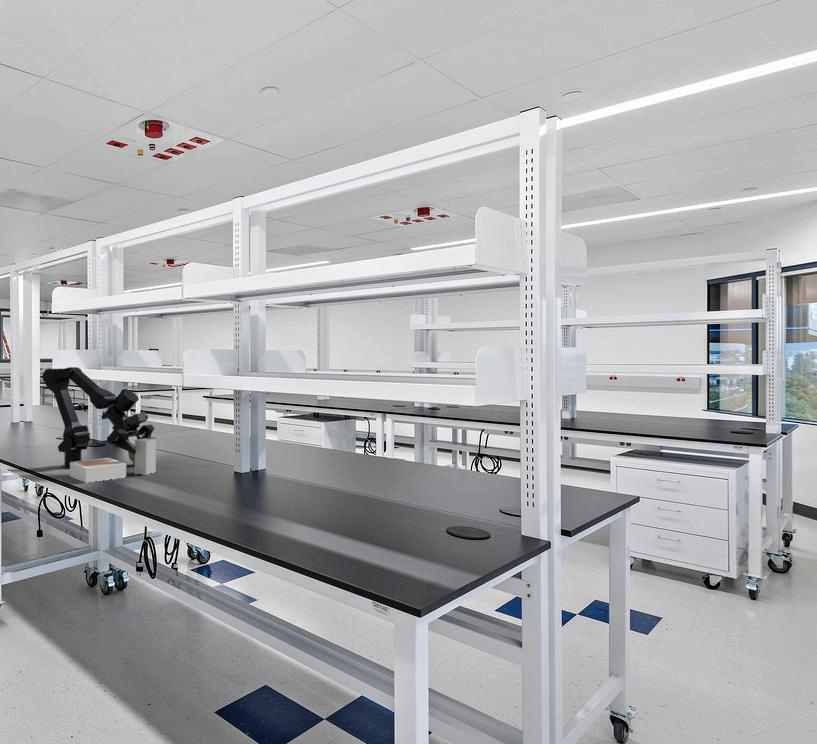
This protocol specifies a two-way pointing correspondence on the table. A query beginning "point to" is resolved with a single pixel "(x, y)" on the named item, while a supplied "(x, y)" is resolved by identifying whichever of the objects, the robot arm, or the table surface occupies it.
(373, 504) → the table surface
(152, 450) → the stone pillar
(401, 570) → the table surface
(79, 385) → the robot arm
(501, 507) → the table surface
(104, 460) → the trapdoor
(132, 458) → the cup
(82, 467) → the trapdoor frame
